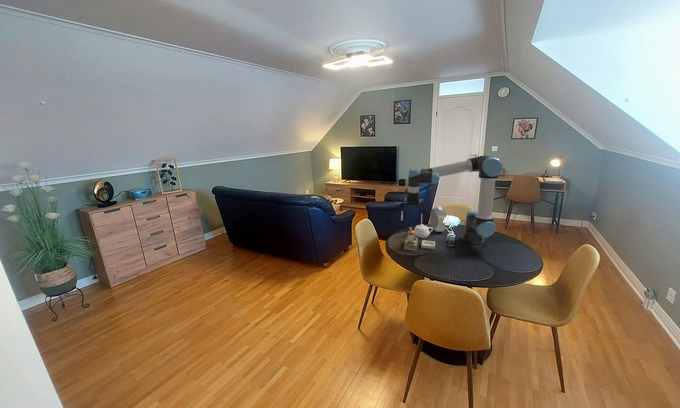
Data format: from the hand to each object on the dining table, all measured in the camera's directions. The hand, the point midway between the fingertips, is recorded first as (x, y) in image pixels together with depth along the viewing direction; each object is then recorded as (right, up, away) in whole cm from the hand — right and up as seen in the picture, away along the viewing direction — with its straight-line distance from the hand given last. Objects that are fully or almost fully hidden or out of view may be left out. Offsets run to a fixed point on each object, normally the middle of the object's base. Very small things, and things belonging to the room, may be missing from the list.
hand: (411, 221), depth 194 cm
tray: (+14, -19, +7) cm, 25 cm away
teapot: (+14, -14, +26) cm, 33 cm away
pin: (+1, -20, +5) cm, 21 cm away
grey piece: (+31, -10, +37) cm, 50 cm away
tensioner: (+2, -19, +8) cm, 21 cm away
